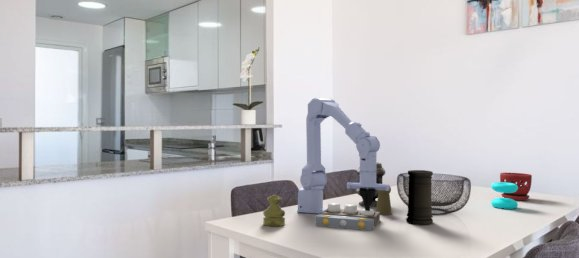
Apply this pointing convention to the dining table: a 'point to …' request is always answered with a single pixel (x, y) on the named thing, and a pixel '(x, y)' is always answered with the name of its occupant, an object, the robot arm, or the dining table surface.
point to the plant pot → (522, 190)
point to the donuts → (504, 202)
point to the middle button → (350, 209)
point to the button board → (355, 215)
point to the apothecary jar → (379, 175)
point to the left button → (334, 207)
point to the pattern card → (345, 222)
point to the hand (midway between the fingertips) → (367, 210)
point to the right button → (367, 212)
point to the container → (419, 197)
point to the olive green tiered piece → (274, 213)
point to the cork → (384, 202)
